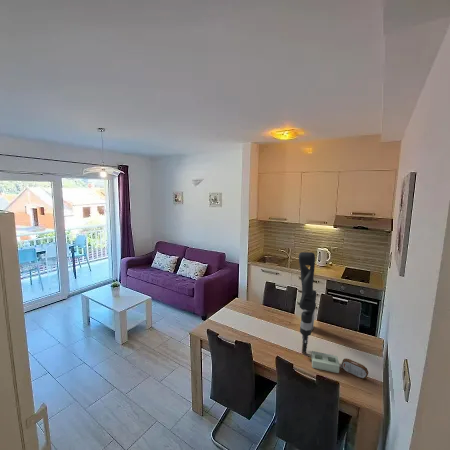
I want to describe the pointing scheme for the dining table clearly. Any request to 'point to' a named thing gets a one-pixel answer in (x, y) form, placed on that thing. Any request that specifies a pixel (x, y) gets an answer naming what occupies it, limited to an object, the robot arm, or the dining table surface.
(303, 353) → the peg
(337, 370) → the hole block
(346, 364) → the tin
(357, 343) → the dining table surface
